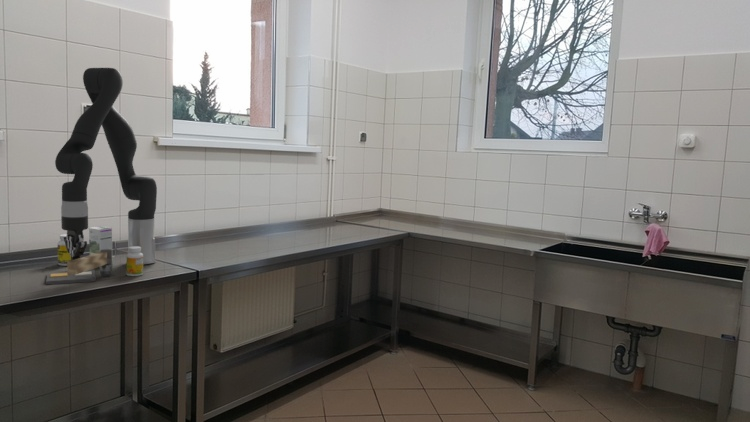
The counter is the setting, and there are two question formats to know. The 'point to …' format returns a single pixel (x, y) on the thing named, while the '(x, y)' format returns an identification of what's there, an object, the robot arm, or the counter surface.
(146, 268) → the counter surface
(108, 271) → the pivot post
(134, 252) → the supplement bottle
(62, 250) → the pill bottle
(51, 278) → the label mat
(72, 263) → the tan wooden bar
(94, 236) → the syrup box
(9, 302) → the counter surface
